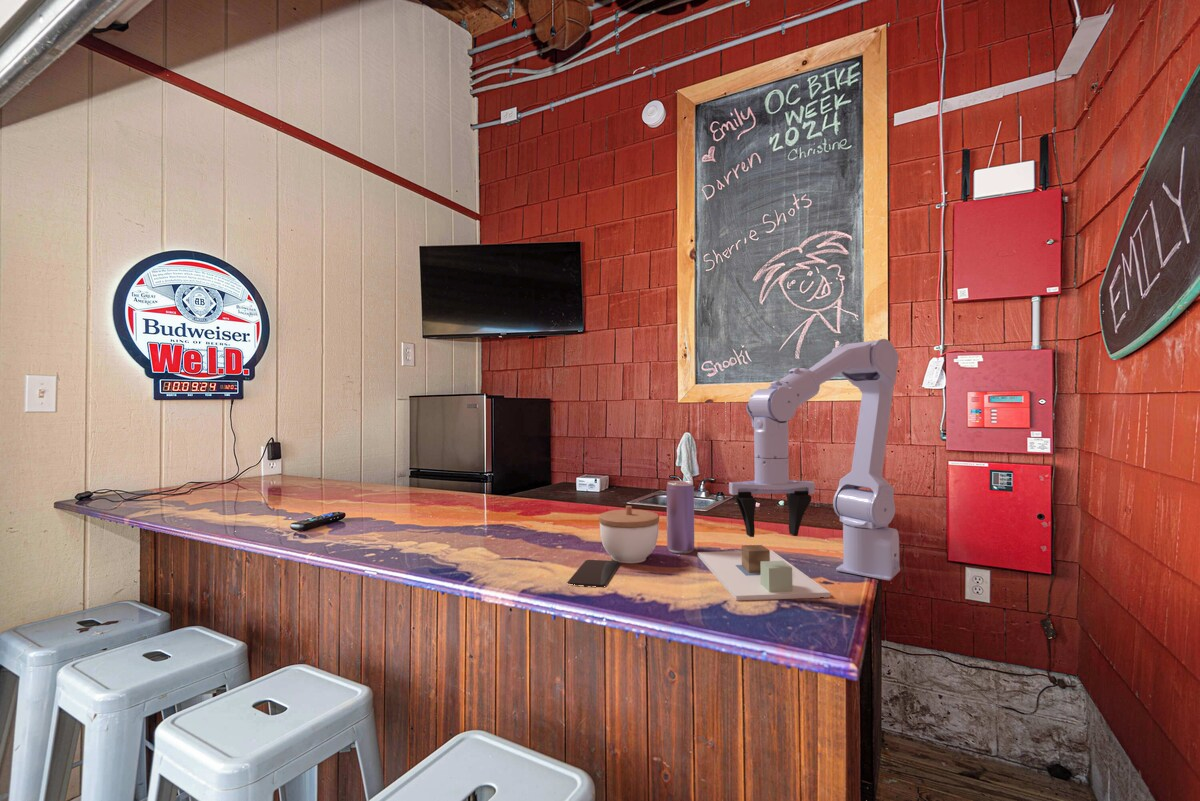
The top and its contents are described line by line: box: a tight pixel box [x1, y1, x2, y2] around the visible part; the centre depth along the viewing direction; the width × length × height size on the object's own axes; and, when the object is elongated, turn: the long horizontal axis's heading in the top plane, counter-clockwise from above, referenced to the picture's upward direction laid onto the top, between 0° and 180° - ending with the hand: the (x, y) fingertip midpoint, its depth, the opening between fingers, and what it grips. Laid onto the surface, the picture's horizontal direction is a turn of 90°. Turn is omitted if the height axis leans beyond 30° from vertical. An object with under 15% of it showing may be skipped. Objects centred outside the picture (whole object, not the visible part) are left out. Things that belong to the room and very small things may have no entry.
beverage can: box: [666, 480, 695, 555], centre depth 121 cm, size 6×6×15 cm
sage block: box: [760, 561, 792, 592], centre depth 94 cm, size 4×4×4 cm
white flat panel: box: [697, 549, 831, 601], centre depth 104 cm, size 16×26×1 cm, turn 4°
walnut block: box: [741, 544, 771, 573], centre depth 104 cm, size 4×4×4 cm
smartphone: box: [566, 559, 621, 588], centre depth 105 cm, size 7×1×15 cm
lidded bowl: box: [598, 505, 660, 564], centre depth 115 cm, size 13×13×11 cm
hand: (771, 535), depth 95 cm, fingers open, 7 cm apart
